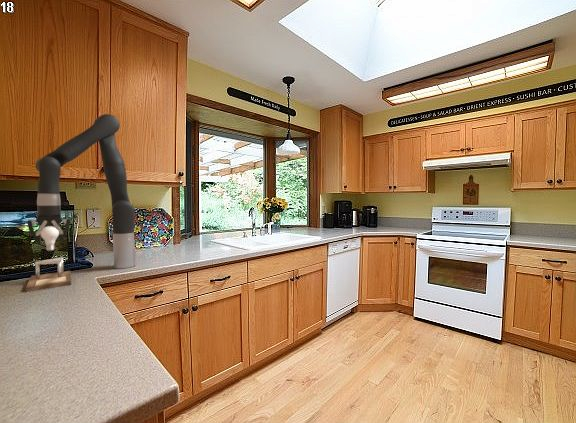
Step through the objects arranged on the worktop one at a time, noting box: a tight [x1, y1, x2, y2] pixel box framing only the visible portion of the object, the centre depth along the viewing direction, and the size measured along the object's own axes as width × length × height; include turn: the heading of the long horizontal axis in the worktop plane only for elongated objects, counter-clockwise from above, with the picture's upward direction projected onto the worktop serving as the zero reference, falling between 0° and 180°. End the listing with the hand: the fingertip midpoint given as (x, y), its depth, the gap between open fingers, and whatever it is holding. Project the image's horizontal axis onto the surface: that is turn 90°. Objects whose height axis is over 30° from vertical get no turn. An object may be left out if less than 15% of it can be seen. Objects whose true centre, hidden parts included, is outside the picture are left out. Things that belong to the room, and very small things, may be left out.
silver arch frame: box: [34, 256, 65, 279], centre depth 115 cm, size 9×9×7 cm
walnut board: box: [25, 270, 72, 292], centre depth 112 cm, size 13×20×2 cm, turn 39°
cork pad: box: [35, 276, 66, 286], centre depth 108 cm, size 9×7×1 cm
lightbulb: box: [40, 226, 60, 252], centre depth 116 cm, size 6×6×11 cm
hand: (50, 243), depth 116 cm, fingers closed on lightbulb, 6 cm apart
